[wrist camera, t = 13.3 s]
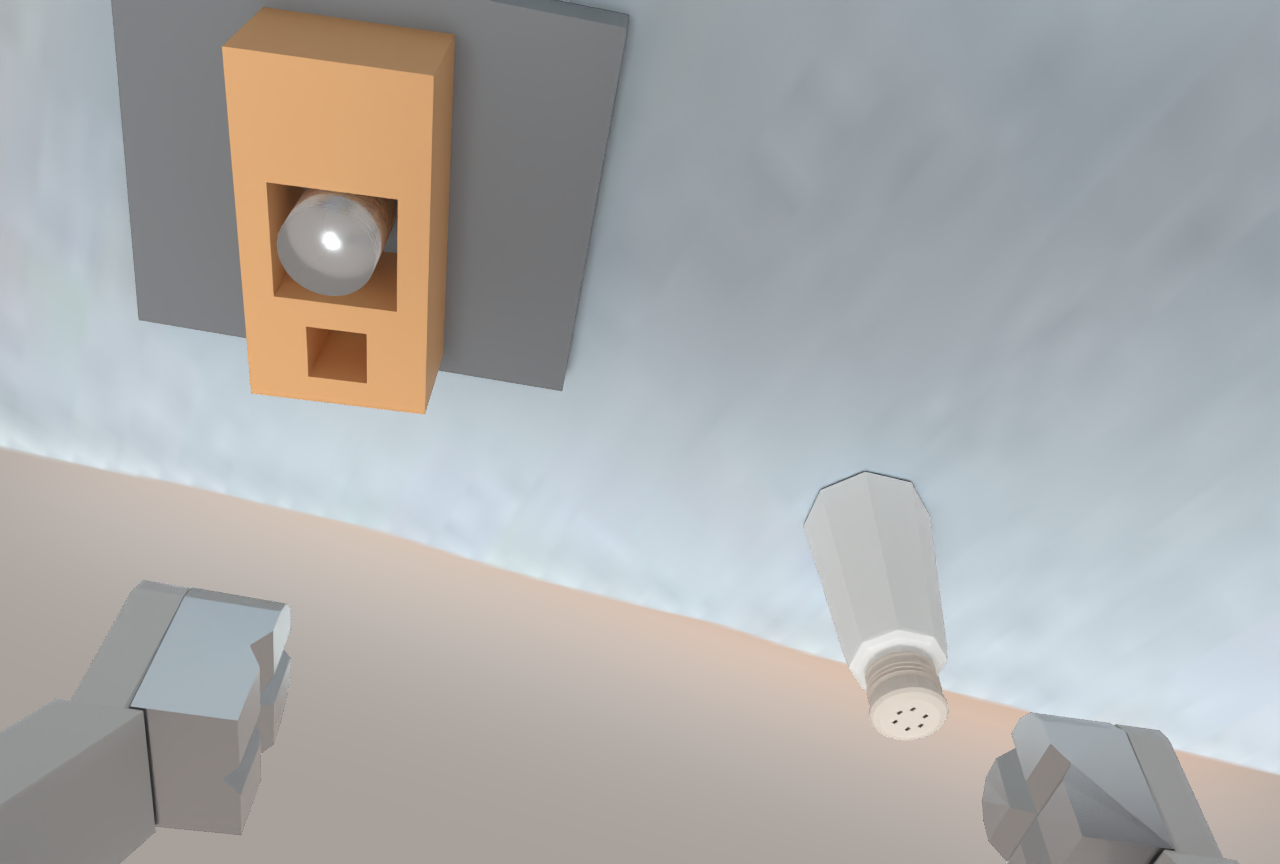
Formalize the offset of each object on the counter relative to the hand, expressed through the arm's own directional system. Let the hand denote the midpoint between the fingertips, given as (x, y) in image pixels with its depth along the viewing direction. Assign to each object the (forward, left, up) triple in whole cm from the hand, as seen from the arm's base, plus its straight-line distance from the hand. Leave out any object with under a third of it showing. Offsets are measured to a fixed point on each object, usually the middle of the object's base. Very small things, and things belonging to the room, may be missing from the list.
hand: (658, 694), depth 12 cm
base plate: (+9, +8, -29) cm, 31 cm away
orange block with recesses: (+9, +8, -28) cm, 30 cm away
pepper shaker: (-13, +20, -29) cm, 38 cm away
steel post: (+9, +8, -29) cm, 31 cm away
